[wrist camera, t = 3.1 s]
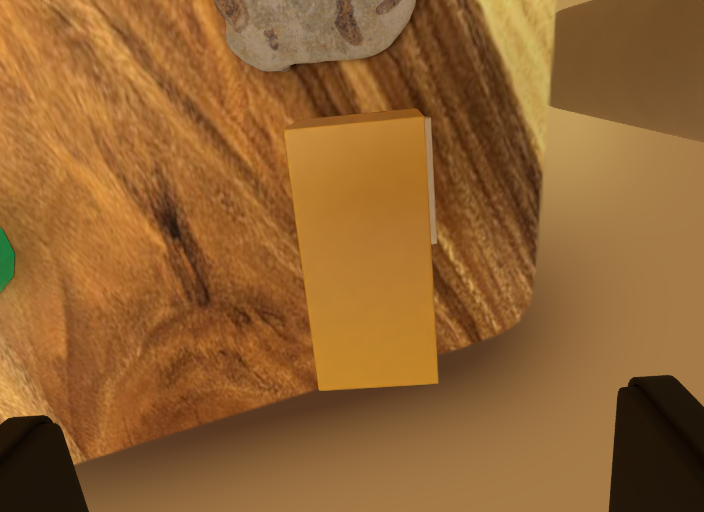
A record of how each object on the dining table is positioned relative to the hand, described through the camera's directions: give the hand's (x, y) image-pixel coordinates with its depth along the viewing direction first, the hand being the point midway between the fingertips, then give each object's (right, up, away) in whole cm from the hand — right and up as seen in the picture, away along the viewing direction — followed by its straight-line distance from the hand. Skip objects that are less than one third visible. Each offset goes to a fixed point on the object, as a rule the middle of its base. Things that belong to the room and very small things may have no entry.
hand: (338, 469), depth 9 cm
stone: (-2, +17, +18) cm, 25 cm away
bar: (+1, +4, +12) cm, 13 cm away
